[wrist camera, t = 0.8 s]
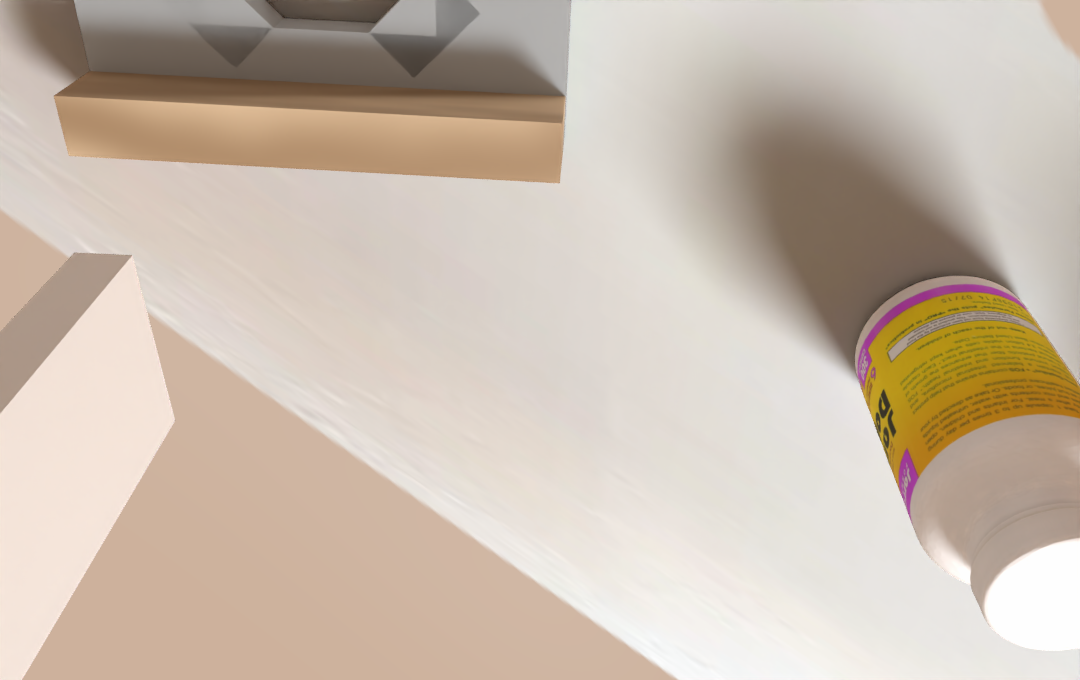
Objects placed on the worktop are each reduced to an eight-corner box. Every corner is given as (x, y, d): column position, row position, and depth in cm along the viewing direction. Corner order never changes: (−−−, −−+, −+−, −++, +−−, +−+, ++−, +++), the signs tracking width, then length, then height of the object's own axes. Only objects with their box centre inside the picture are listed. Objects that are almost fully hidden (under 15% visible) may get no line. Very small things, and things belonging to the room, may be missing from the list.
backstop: (89, 71, 32) (53, 95, 30) (565, 96, 32) (562, 123, 30) (102, 128, 33) (68, 156, 31) (562, 153, 33) (559, 183, 31)
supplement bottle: (824, 314, 37) (912, 559, 26) (998, 239, 35) (1171, 473, 24) (885, 433, 40) (987, 697, 29) (1049, 371, 38) (1223, 632, 27)
